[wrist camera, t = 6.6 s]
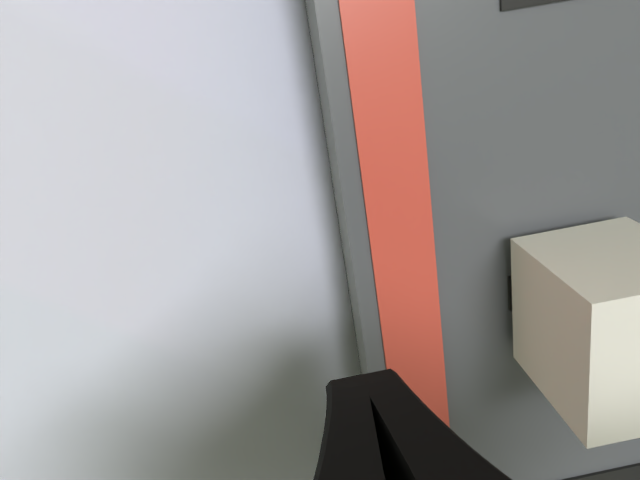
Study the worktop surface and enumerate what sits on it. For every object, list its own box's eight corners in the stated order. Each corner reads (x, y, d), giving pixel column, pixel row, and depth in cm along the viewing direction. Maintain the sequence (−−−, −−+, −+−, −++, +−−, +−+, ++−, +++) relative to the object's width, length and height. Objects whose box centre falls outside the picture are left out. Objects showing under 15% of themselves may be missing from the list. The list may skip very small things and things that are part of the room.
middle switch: (619, 335, 15) (720, 420, 12) (513, 356, 15) (586, 449, 12) (626, 216, 14) (742, 274, 10) (510, 238, 13) (591, 304, 10)
